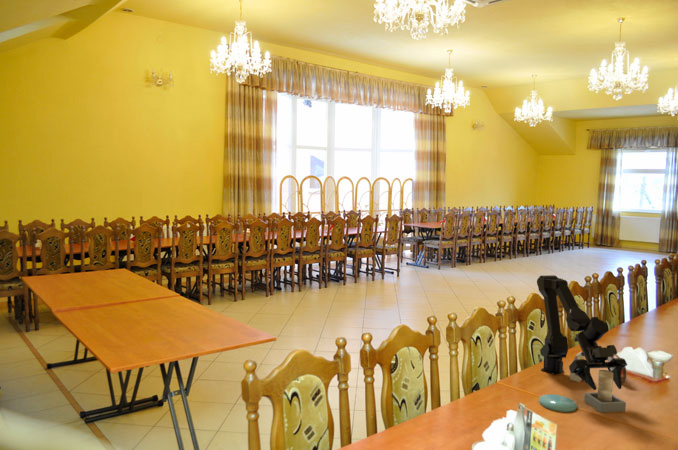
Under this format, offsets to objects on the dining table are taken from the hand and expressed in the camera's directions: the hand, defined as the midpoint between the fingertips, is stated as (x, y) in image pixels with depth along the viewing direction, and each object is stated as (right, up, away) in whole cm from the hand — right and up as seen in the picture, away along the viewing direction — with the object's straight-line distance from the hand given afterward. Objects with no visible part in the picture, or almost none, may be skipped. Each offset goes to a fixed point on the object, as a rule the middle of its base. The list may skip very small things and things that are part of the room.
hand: (607, 389), depth 171 cm
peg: (0, -6, +2) cm, 7 cm away
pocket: (0, -6, +2) cm, 7 cm away
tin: (+19, -5, +29) cm, 35 cm away
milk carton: (+2, -5, +27) cm, 28 cm away
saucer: (-16, -6, +3) cm, 17 cm away
